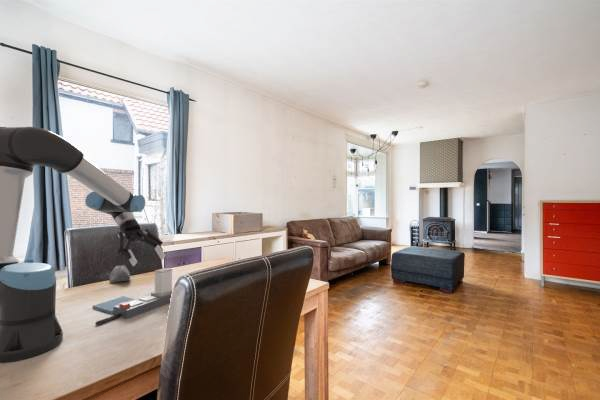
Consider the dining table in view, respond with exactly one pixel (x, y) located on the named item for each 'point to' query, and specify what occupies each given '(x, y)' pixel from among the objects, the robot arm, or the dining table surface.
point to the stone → (119, 274)
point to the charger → (163, 280)
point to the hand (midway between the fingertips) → (150, 260)
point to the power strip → (138, 306)
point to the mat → (111, 304)
